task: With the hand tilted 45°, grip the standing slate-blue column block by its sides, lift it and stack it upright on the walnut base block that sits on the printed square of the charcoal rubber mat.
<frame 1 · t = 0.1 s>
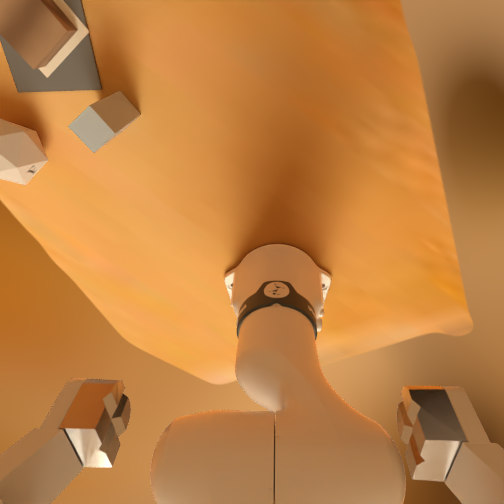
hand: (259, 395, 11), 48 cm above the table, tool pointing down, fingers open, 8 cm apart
base block: (39, 23, 48), resting on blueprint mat
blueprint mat: (43, 32, 49), on the table
die: (27, 143, 58), on the table
column: (121, 111, 54), on the table
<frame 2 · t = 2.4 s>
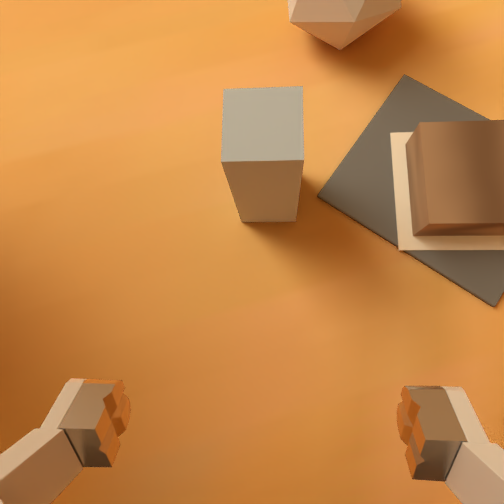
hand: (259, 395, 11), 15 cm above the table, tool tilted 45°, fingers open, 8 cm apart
base block: (459, 188, 27), resting on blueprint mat
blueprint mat: (444, 183, 28), on the table
die: (334, 22, 32), on the table
column: (268, 196, 29), on the table
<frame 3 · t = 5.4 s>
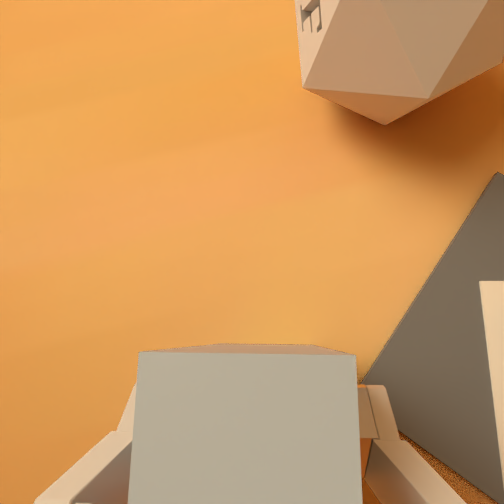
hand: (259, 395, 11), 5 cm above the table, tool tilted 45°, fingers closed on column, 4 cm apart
die: (374, 76, 19), on the table
column: (266, 392, 16), on the table, touching gripper
when the fingers open (10 cm above the table, at t = 9.4 s): column drops 1 cm, resting on base block.
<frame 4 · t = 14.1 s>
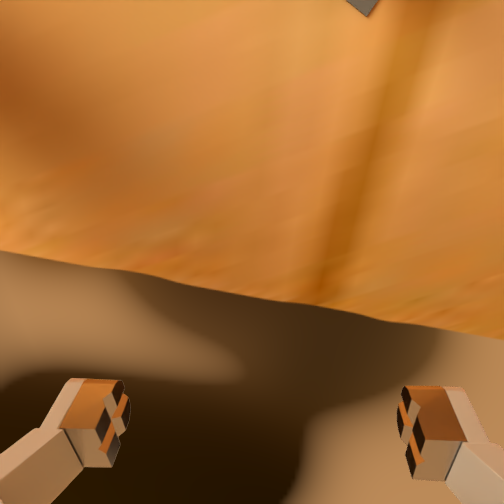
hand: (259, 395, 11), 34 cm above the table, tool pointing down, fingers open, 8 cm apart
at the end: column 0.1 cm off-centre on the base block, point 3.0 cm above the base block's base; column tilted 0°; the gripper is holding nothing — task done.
